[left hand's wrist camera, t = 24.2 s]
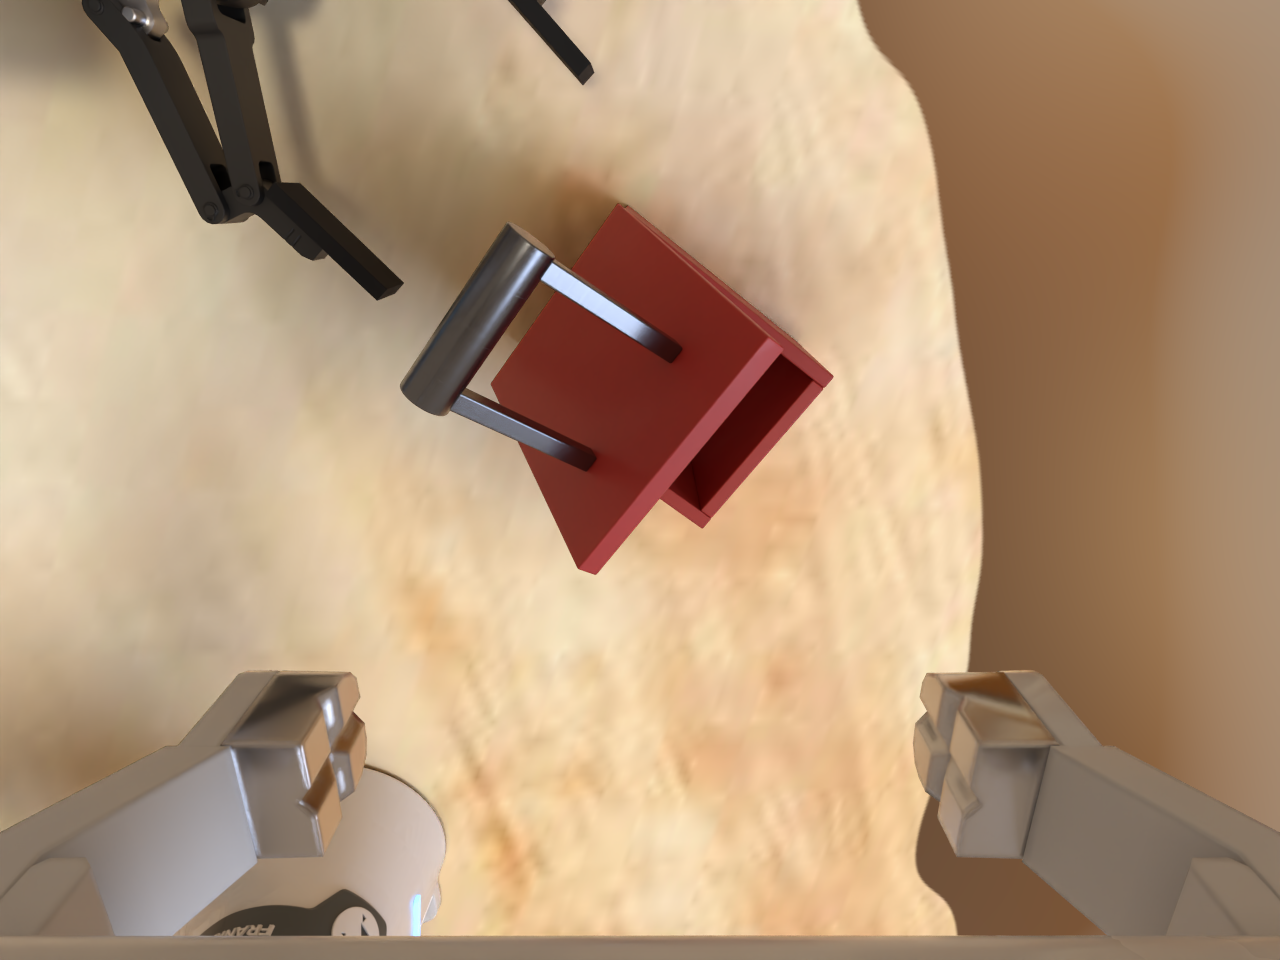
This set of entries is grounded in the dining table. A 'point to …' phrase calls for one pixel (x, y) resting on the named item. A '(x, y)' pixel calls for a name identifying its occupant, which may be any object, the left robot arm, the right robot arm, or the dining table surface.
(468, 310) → the lid
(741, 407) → the chest
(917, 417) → the dining table surface
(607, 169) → the dining table surface
